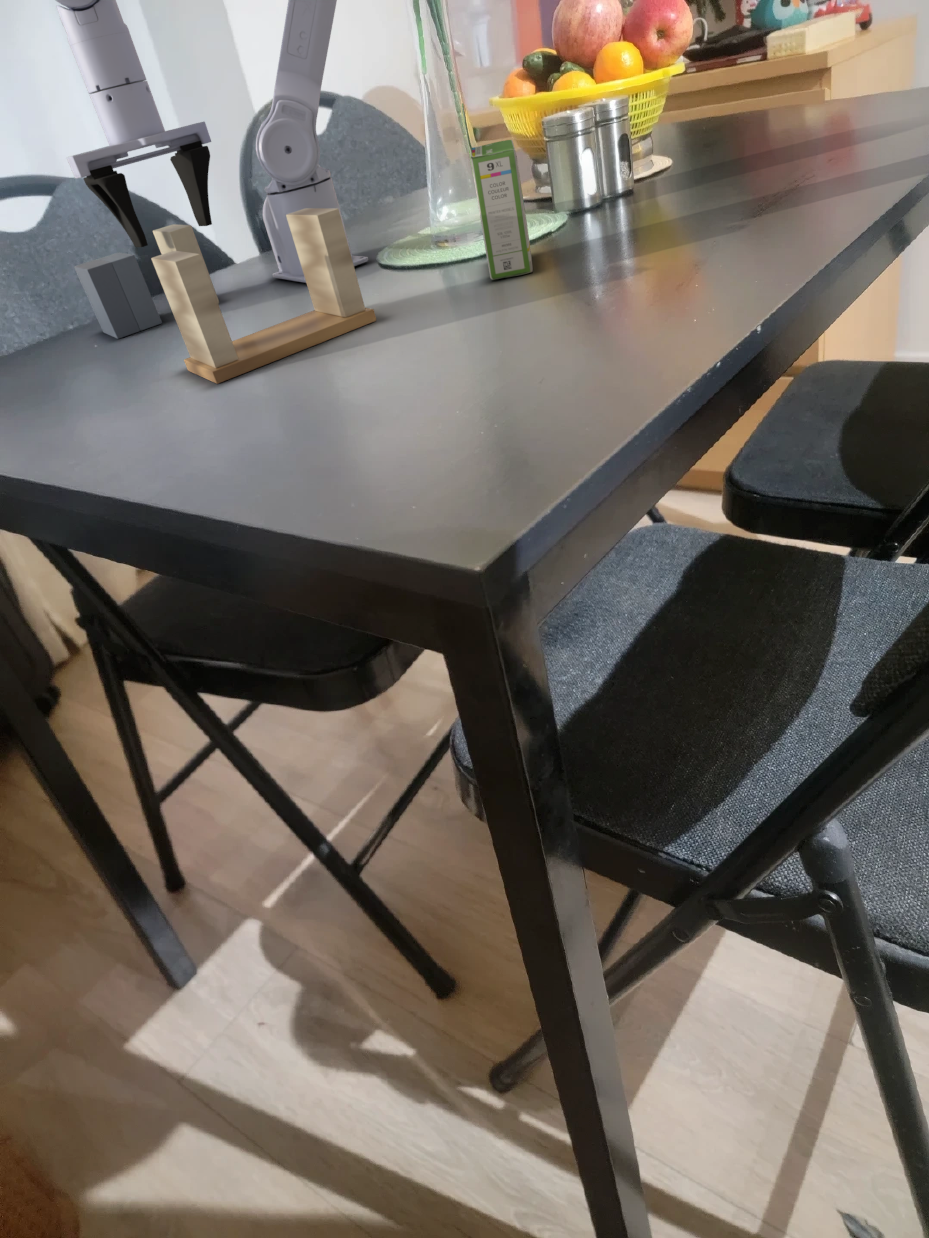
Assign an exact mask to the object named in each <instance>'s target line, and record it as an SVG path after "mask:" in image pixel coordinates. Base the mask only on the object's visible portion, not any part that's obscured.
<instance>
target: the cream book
mask: <svg viewBox="0 0 929 1238" xmlns="http://www.w3.org/2000/svg"><path fill="white" fill-rule="evenodd" d="M152 233H153V236H154V238H155V242H156V244H157V246H158V249H159V251H160V255H162V254H165V253H168V252H171V251H181V252H189V253H196V254H200V255H201V258H202V261H203V264H204V266H205V269H206V272H207V275H208V277H209V280H210V283H211V285H212V288H213V291H214V294H215V296H216V299H217V302H218V304H220V300H219V297H218V295H217V294H218V293H217V292H216V289H215V286H214V283H213V280H212V278H211V275H210V272H209V270H208V267H207V264H206V261H205V259H204V257H203V254H202V251H201V249H200V245H199V243H198V240H197V237H196V234H195V232H194V229H193V225H192V224H191V225H190V224H174V223H173V224H170V225H166V226H163V227H159V228H156V229H153V230H152Z"/></svg>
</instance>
